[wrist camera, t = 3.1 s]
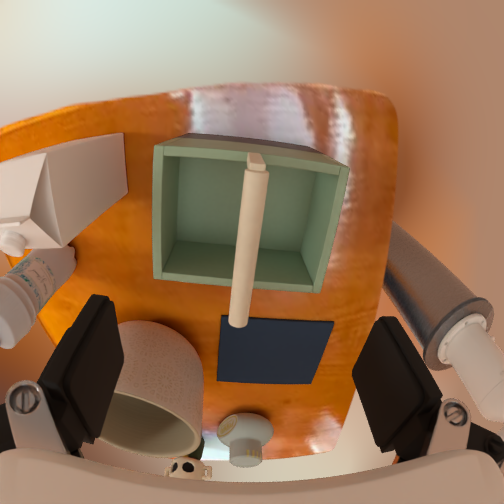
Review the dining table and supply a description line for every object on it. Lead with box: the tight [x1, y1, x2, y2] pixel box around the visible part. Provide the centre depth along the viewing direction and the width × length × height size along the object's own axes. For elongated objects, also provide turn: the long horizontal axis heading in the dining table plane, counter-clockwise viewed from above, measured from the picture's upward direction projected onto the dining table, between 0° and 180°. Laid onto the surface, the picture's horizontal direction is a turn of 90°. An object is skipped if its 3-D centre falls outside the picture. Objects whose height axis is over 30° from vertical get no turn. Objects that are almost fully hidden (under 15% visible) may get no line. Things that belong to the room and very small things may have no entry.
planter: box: [99, 320, 204, 458], centre depth 35 cm, size 17×17×15 cm
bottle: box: [0, 245, 77, 349], centre depth 26 cm, size 7×7×20 cm
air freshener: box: [217, 413, 274, 467], centre depth 47 cm, size 11×8×10 cm
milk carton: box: [0, 133, 128, 257], centre depth 21 cm, size 7×7×19 cm
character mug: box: [164, 438, 212, 481], centre depth 49 cm, size 11×7×13 cm, turn 106°
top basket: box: [152, 138, 350, 328], centre depth 21 cm, size 13×10×12 cm
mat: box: [217, 315, 334, 384], centre depth 43 cm, size 16×14×1 cm
